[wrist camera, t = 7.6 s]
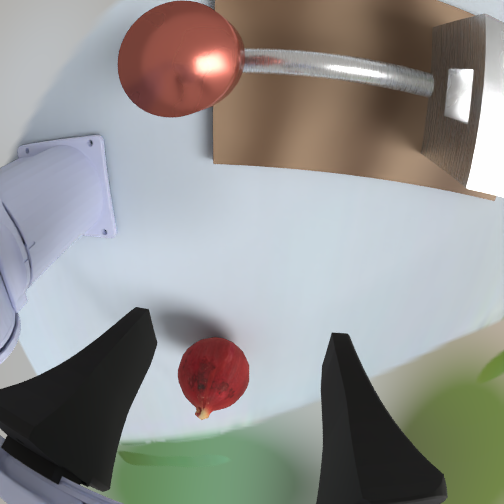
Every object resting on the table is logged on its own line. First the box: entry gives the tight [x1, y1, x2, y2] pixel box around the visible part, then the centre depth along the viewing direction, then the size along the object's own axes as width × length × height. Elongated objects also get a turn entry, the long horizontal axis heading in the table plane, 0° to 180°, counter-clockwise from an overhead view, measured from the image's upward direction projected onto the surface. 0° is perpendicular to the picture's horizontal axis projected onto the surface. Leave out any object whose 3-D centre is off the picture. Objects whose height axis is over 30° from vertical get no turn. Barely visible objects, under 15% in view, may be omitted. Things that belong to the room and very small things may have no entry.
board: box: [213, 0, 496, 201], centre depth 14 cm, size 19×12×1 cm, turn 88°
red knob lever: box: [118, 1, 434, 117], centre depth 11 cm, size 12×4×7 cm, turn 88°
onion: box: [178, 337, 249, 420], centre depth 24 cm, size 6×6×8 cm
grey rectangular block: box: [421, 14, 504, 197], centre depth 11 cm, size 2×8×6 cm, turn 178°
